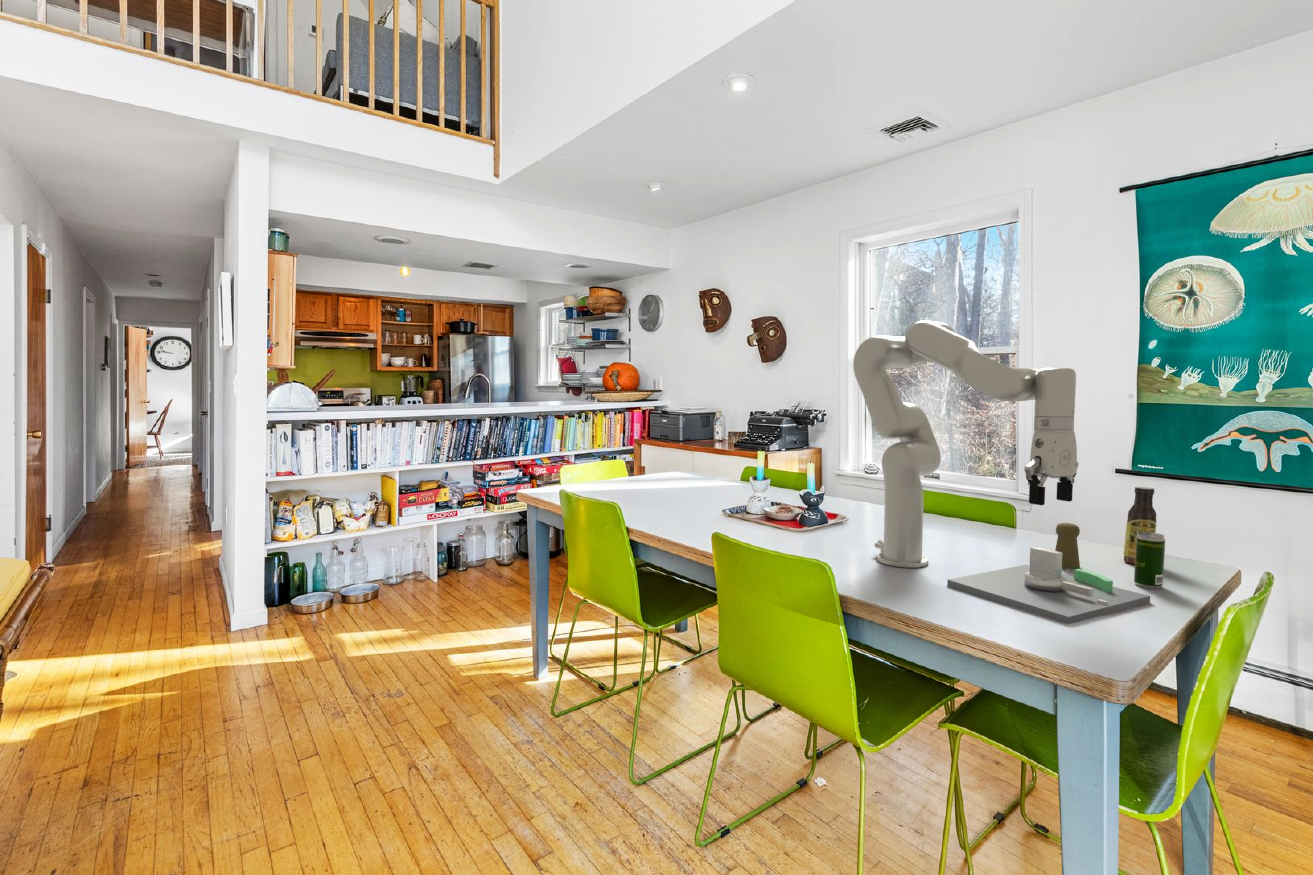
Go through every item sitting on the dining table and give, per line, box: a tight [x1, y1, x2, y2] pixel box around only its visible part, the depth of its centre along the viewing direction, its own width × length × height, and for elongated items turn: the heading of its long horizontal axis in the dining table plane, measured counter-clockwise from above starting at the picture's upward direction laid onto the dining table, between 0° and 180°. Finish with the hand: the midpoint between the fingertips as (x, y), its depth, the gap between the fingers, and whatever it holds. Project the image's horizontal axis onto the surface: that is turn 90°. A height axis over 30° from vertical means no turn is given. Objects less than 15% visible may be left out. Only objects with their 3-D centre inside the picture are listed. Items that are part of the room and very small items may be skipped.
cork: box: [1054, 522, 1081, 570], centre depth 170 cm, size 6×6×11 cm
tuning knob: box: [1024, 546, 1093, 597], centre depth 144 cm, size 14×8×8 cm, turn 27°
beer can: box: [1133, 532, 1166, 590], centre depth 153 cm, size 5×5×12 cm
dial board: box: [946, 564, 1151, 625], centre depth 147 cm, size 28×28×4 cm
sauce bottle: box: [1123, 486, 1157, 565], centre depth 172 cm, size 7×6×20 cm
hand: (1050, 502), depth 146 cm, fingers open, 9 cm apart
